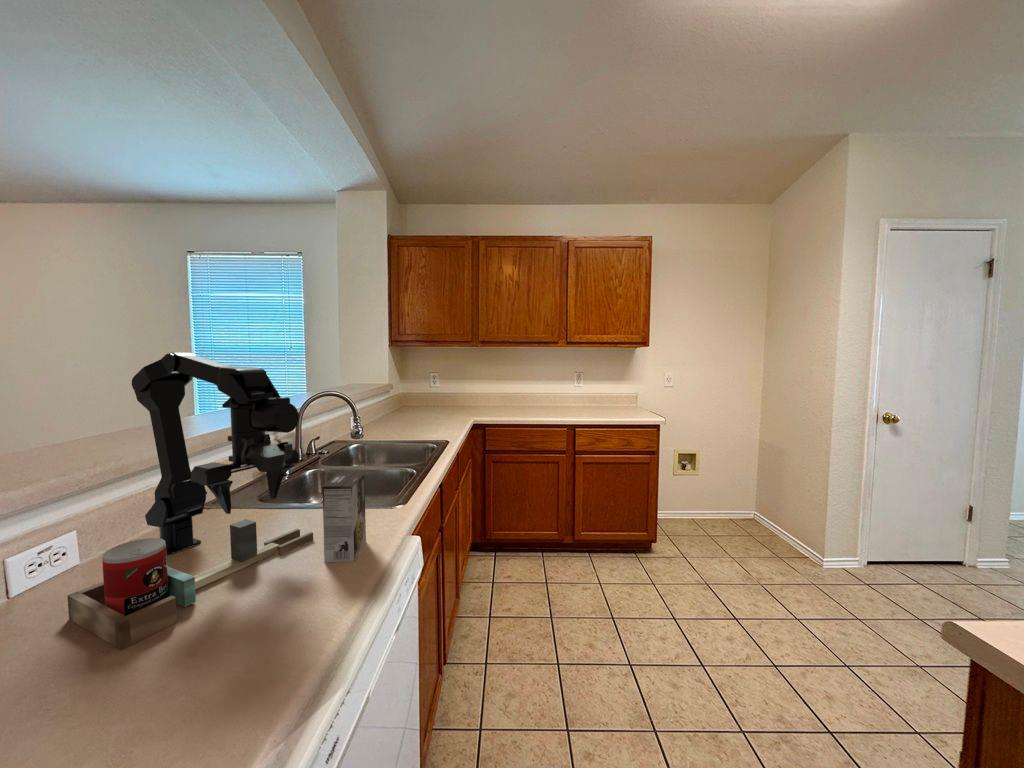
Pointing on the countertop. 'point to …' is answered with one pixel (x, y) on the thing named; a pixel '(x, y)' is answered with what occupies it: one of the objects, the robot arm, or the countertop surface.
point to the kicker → (241, 556)
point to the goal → (118, 617)
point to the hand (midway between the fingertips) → (251, 505)
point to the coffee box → (344, 517)
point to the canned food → (135, 575)
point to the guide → (290, 541)
